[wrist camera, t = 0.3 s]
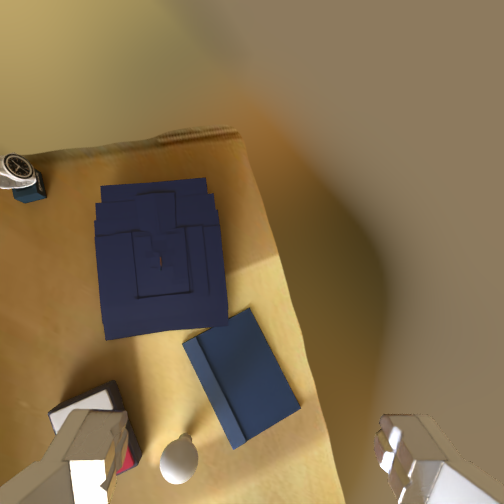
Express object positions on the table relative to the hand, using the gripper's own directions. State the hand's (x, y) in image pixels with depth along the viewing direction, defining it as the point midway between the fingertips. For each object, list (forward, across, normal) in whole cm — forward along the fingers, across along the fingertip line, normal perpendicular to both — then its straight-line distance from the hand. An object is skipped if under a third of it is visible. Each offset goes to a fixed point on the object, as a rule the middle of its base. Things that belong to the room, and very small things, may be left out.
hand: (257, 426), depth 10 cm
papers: (+52, -13, -15) cm, 56 cm away
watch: (+59, -40, -4) cm, 72 cm away
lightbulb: (+37, -6, -45) cm, 58 cm away
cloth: (+42, +4, -34) cm, 54 cm away
